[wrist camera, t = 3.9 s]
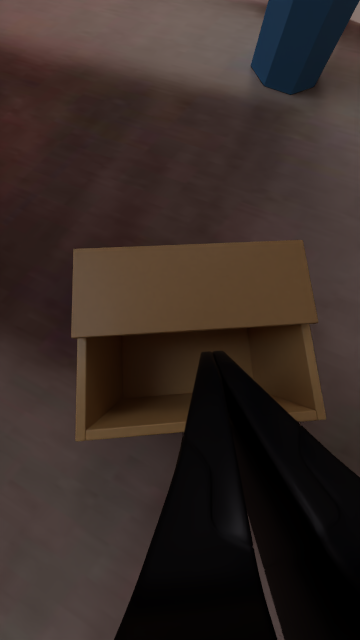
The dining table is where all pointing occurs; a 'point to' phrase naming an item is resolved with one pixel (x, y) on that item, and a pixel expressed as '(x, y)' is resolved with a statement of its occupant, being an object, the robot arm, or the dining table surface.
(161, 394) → the kraft bin
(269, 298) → the bin flap
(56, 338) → the dining table surface
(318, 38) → the water bottle
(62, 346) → the dining table surface
